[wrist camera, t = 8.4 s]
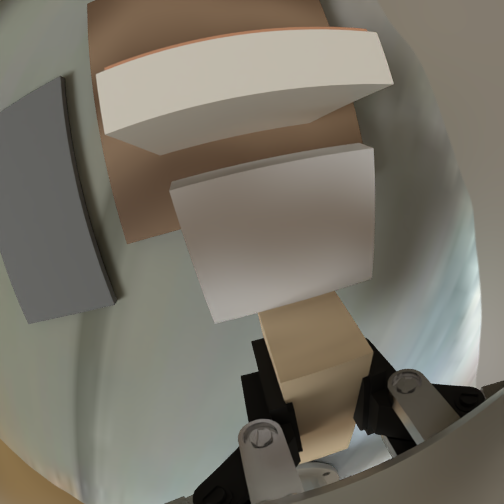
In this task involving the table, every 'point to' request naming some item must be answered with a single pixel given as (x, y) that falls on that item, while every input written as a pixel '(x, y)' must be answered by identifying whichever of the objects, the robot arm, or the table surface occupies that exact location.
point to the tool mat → (46, 211)
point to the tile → (238, 85)
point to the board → (208, 154)
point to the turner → (291, 271)
